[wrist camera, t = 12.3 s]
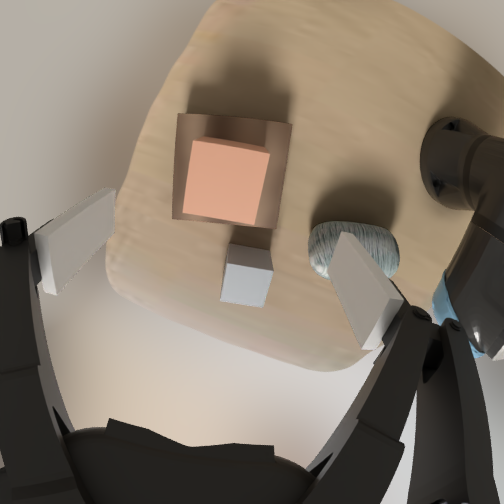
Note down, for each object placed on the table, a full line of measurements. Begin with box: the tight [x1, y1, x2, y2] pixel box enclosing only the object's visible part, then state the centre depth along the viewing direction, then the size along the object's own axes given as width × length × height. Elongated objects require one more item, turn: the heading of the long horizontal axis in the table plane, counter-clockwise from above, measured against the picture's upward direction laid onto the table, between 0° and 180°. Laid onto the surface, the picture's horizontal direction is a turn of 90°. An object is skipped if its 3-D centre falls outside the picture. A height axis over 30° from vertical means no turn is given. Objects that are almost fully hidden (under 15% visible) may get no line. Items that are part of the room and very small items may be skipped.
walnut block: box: [172, 113, 292, 229], centre depth 34 cm, size 13×13×5 cm
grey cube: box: [220, 243, 274, 308], centre depth 40 cm, size 6×6×6 cm
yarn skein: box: [308, 221, 400, 280], centre depth 38 cm, size 14×10×10 cm
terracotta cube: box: [183, 136, 270, 225], centre depth 28 cm, size 7×7×7 cm
